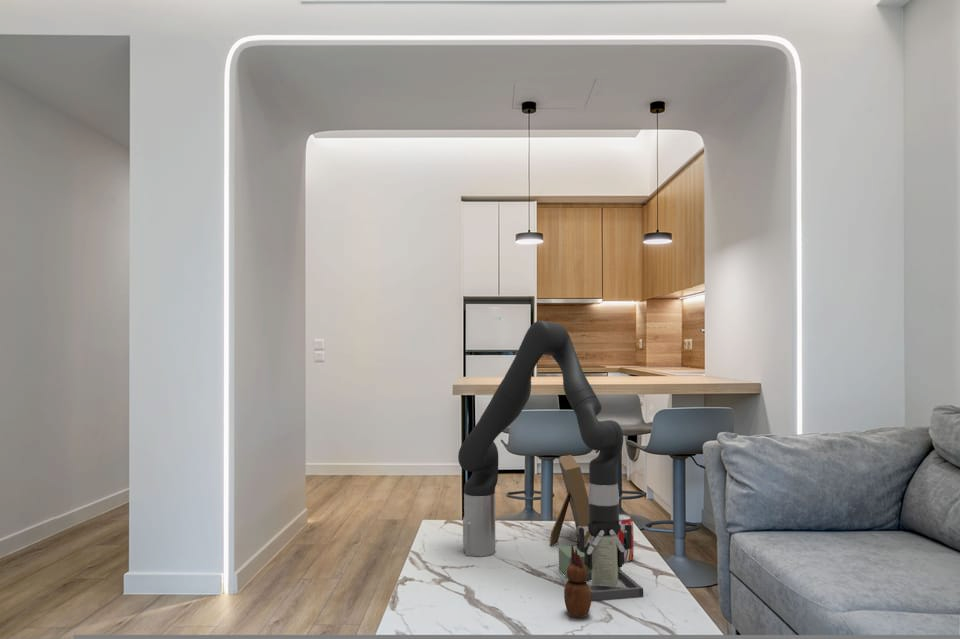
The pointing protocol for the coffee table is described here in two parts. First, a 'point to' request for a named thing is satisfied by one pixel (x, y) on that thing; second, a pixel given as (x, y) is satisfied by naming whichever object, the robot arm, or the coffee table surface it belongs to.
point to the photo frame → (572, 498)
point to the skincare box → (605, 562)
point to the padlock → (565, 560)
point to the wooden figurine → (577, 587)
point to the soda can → (629, 552)
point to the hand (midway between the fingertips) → (604, 567)
